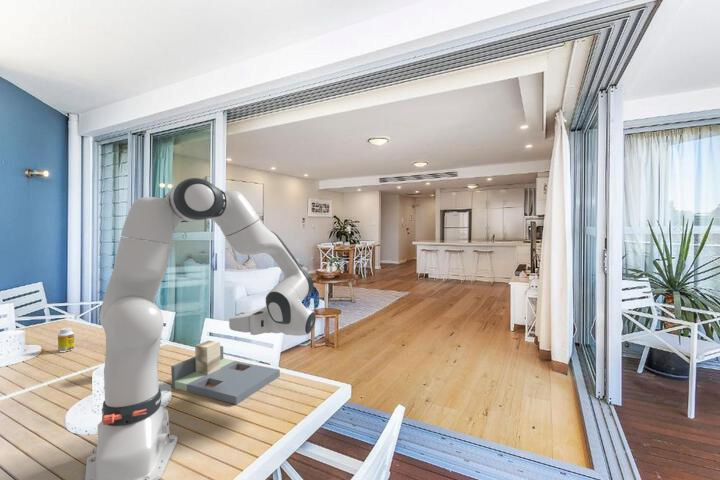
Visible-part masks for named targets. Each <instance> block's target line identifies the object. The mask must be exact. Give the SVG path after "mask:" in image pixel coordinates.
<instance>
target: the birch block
mask: <svg viewBox="0 0 720 480" xmlns="http://www.w3.org/2000/svg"><path fill="white" fill-rule="evenodd" d="M220 346H221V342H220V341H214V340H209V339H208V340H206V341H204V342H201V343H198V344H196V345H194V347H195V348H194V350H195V351H194V352H195V353H194V354H195V356H194V357H195V360H196V372H197V373H202V374H206V375H208V374H211V373H213V372H215V371H217V370H219V369H221V364H220Z"/></svg>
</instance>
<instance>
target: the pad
mask: <svg viewBox="0 0 720 480" xmlns="http://www.w3.org/2000/svg"><path fill="white" fill-rule="evenodd" d="M233 361H234V360H233V359H228V358H224V359H222V360H220V364H221V367H223V366H225V365H227V364H229V363H231V362H233ZM205 375H206V374H202V373H197V372H193V373H191V374H189V375H187V376H185V377H183V378H180V379H178V380H176V381H175V388H174V389H176V390H180V391H184V392H187V384H188V383H190V382H192V381H195V380H197V379H199V378H201V377H203V376H205Z"/></svg>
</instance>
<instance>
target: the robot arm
mask: <svg viewBox="0 0 720 480" xmlns="http://www.w3.org/2000/svg"><path fill="white" fill-rule="evenodd" d="M208 219H209V220H212V221H213V222H214V223H215V224H216V225H217V226H218V227H219V228H220V231H221V232H222V234H223V236H224V237H225V239H226V241H227V243H228V244H229V245H230V247H231V248H232V249H233V250H234V251H235V252H237V253H239V254H241V255H247V256H250V255H251V256H254V255H259V254H267V255H269V256H270V257H271V258H272V259H273V261H274V262H275V263H276V265H277V266H278V267H279V268H280V270H281V271H282V272H283V277H282V280H280V281H279V282H278V283H277V284H276V285H275V286H274V287H273V288H272V289H271V290H270V291H269V292H268V293H267V295H266V297H265V306H264V307H260V308H258V309H254V310H251V311H246V312H244V311H242V312H238V313H236V314H235V316H232V317H230V318H229V320H228V325H229V326H228V327H229V329H230V330H231V331H235V332H241V333H249V334H250V335H251V336H257V335H261V334H262V335H263V334H284V335H287V336H297V337H299V336H301V337H302V336H303V337H304V336H307V335H309V334H310V333H311V332H312V331H313V329H314V327H315V325H316V324H315V323H316V321H317V319H316V318H317V317H316V313H315V311H313V310H310V309H308V308H307V307H306V306H305V305H304V304H303V303H302V302H303V300H305V299H306V298H307V297H308V296H309V295H310V294H311V293H312V292H313V290H314V280H313V278H312V276H311V274H310V273H308V271H307V270H305V269H304V268H303V266H302V265H301V264H300V262H298V260H297V259H296V258H295V256H294V255H293V253H292V252H291V250H290V249H289V248H288V247H287V245H286V244H285V242H284V241H283V240H282V239H281V238H280V237H279V235H278V234H277V233H276V232H274V231H272V230H269V229H268V228H267V227H266V226H265V225H264V224H263V222H262V220H261V218H260V217H259V215H258V213H257V212H256V211H255V209H254V207H253V206H252V204H251V203H250V201H248V199H247V198H246V196H244V195H243V194H242V193H241V192H240V191H238V190H225V191H223V190H221V189H220V188H218V187H217V186H216V185H214V184H213V183H211V182H210V181H208V180H206V179H203V178H199V177H190V178H187V179H184V180H183V181H180V182H178V183H177V184H175V185H174V186H173V187H172V188H171V190H170V191H168V193H167V194H165V196H163V197H156V196H143V197H139V198H137V199H136V200H134V201H133V203H132V204H131V206H130V208H129V211H128V213H127V216H126V217H125V220H124V223H123V226H122V230H121V234H120V238H119V243H118V247H117V252H116V256H115V259H114V260H115V261H114V264H113V265H114V266H113V269H112V272H111V275H110V277H109V281H108V284H107V288H106V290H105V293H104V297H103V300H102V304H101V307H100V311H99V315H98V319H99V323H100V325H101V326H102V329H104V330H103V331H104V333H105V359H104V368H103V379H104V380H103V382H104V385H103V388H104V400H103V403H102V408H101V416H102V417H101V421H99V423H98V424H97V445H96V447H93V449H92V454H91V455H90V456H88V457H87V459H86V466H85V475H84V480H159V479H161V478H162V476H163V474H164V472H165V469H166V467H167V465H168V463H169V461H170V459H171V456H172V454H173V452H174V450H175V447H176V446H177V443H178V441H179V440H178V439H179V438H178V436H177V435H174V434H170V433H171V432H170V421H169V410H167V409H166V408H165V407H163V405H162V398H163V397H162V392H161V391H162V390H161V388H160V386H159V383H160V382H159V381H160V379H159V356H160V348H161V341H162V332H163V329H164V317H163V314H162V313H163V312H162V310H161V309H160V308H159V307H158V305H156V304H155V300H156V297H157V293H158V291H159V289H160V286H161V284H162V281H163V280H164V277H165V276H166V275H167V269H168V265H169V264H168V263H169V259H170V254H171V250H172V244H173V239H174V233H175V231H176V229H177V227H178V226H179V224H180V223H190V222H191V223H193V222H194V223H195V222H200V221H203V220H208Z"/></svg>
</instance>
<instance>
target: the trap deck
mask: <svg viewBox="0 0 720 480" xmlns="http://www.w3.org/2000/svg"><path fill="white" fill-rule="evenodd" d="M222 359H225V358H224V346H223V345H220V360H222ZM170 368H171V388H173V389H176V388H175V381H176V380H178V379H180V378H183V377H185V376H187V375H189V374H191V373H193V372H196V360H195V356H193V357H190V358H188V359H185V360H183V361H181V362H178V363H175V364H173V365H171V367H170ZM280 372H281V370H280V369H277V368H272V367H267V366H262V365H258V364H252V363H248V362H243V361H239V360H233V362H231V363H229V364H227V365H225V366H223V367H221V369H219V370H217V371H215V372H213V373H211V374H208V375H205V376H203V377H201V378H199V379H197V380H195V381H192V382H190V383H188V384H187V391H186V392H187V393H188V392H189V393H191V394H196V395H199V396H201V397H202V396H204V397H207V398H210V399H214V400H218V401H222V402H226V403H229V404H232V405H233V404H234V405H236V406H237V405H238V404H240V403H241V402H243V401H245V400H246V399H247V398H249V397H250V396H252V395H253V394H255V393H256V392H258V391H260V390H261V389H263V388H264V387H266V386H268V384H270V383H272V382H273V381H275V380H276V379H278V378H279V377H280V376H281V373H280Z"/></svg>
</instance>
